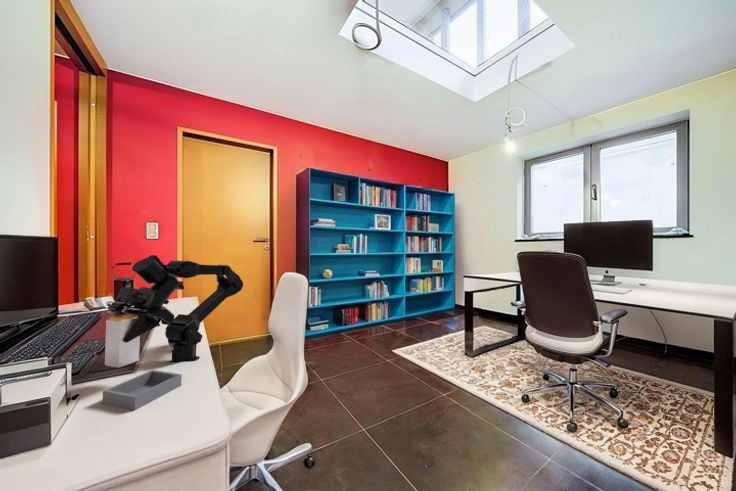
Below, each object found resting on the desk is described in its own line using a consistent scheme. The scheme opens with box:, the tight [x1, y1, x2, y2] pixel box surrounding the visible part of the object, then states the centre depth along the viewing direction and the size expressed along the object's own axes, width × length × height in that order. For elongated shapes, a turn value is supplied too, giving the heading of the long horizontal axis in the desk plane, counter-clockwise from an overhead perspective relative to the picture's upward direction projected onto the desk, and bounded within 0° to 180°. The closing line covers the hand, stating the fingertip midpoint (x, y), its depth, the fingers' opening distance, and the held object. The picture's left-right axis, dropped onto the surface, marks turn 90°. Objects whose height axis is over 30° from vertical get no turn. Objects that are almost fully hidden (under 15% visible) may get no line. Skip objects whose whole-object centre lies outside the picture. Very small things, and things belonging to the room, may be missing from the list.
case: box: [101, 369, 183, 411], centre depth 70 cm, size 12×10×4 cm
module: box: [104, 314, 141, 368], centre depth 74 cm, size 5×5×13 cm
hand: (117, 340), depth 73 cm, fingers closed on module, 5 cm apart
